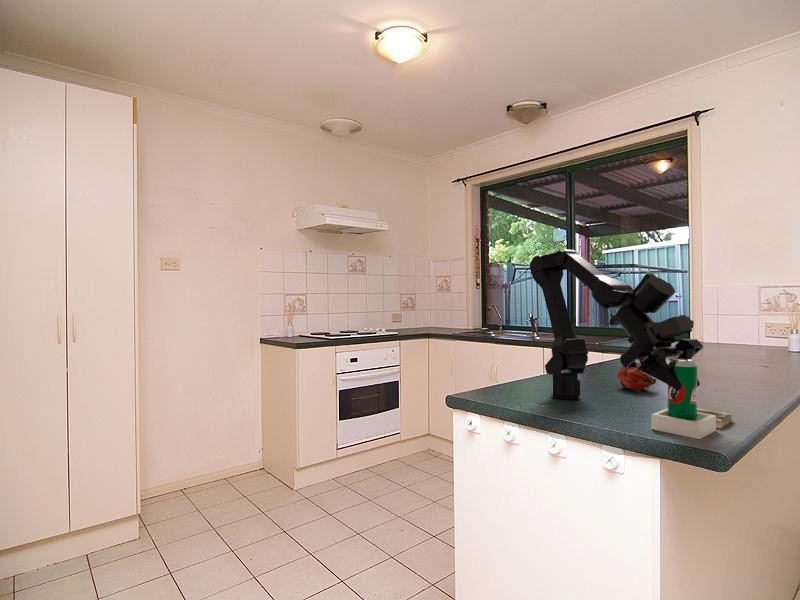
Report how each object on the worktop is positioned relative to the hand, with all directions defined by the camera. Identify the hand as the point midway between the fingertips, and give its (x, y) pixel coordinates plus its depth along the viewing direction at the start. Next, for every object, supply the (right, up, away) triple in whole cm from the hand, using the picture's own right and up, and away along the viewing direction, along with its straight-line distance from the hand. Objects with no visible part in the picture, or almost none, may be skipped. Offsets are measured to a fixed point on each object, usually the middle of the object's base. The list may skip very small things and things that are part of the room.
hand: (689, 387), depth 91 cm
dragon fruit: (+10, -9, +40) cm, 42 cm away
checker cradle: (+8, -9, +8) cm, 14 cm away
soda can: (-1, -7, +1) cm, 7 cm away
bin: (0, -9, +1) cm, 9 cm away
